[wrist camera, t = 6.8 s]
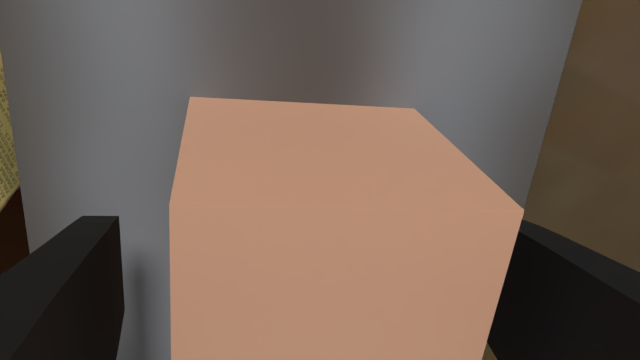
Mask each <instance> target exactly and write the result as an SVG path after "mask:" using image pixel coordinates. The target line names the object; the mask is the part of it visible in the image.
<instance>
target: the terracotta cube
mask: <svg viewBox="0 0 640 360" xmlns="http://www.w3.org/2000/svg"><path fill="white" fill-rule="evenodd" d="M523 213H524V209H523V208H521V207H520V206H519V205H518V204H517V203H516V202H515V201H514V200H513V199H512V198H511V197H510V196H508V195H507V194H506V193H505V192H504V191H503V190H502V189H501V188H500V187H499V186H498V185H497V184H495V183H494V182H493V181H492V180H491V179H490V178H489V177H488V176H487V175H486V174H485V173H484V172H482V171H481V170H480V169H479V168H478V167H477V166H476V165H475V164H474V163H473V162H472V161H471V160H469V159H468V158H467V157H466V156H465V155H464V154H463V153H462V152H461V151H460V150H459V149H458V148H456V147H455V146H454V145H453V144H452V143H451V142H450V141H449V140H448V139H447V138H446V137H445V136H443V135H442V134H441V133H440V132H439V131H438V130H437V129H436V128H435V127H434V126H433V125H432V124H431V123H429V122H428V121H427V120H426V119H425V118H424V117H423V116H422V115H421V114H420V113H419V112H418V111H416V110H415V109H412V108H394V107H375V106H356V105H337V104H318V103H300V102H281V101H262V100H243V99H224V98H206V97H190V99H189V104H188V109H187V114H186V119H185V125H184V130H183V135H182V140H181V146H180V151H179V156H178V161H177V166H176V172H175V177H174V182H173V187H172V192H171V198H170V203H169V232H170V311H171V360H482V356H483V353H484V349H485V346H486V342H487V339H488V335H489V332H490V328H491V325H492V321H493V318H494V314H495V311H496V307H497V304H498V300H499V297H500V294H501V290H502V287H503V283H504V280H505V276H506V273H507V269H508V266H509V262H510V259H511V255H512V252H513V248H514V245H515V241H516V238H517V234H518V231H519V227H520V224H521V220H522V217H523Z"/></svg>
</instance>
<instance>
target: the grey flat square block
mask: <svg viewBox="0 0 640 360" xmlns="http://www.w3.org/2000/svg"><path fill="white" fill-rule="evenodd" d="M581 3H582V0H0V50H1V57H2V64H3V71H4V78H5V85H6V92H7V99H8V106H9V113H10V120H11V127H12V134H13V141H14V148H15V154H16V161H17V168H18V175H19V182H20V189H21V196H22V203H23V210H24V217H25V224H26V231H27V238H28V245H29V252H30V254H31V253H32V252H33V251H35V250H36V249H38V248H39V247H40V246H42V245H43V244H44V243H46V242H47V241H48V240H50V239H51V238H52V237H54V236H55V235H56V234H58V233H59V232H60V231H62V230H63V229H64V228H66V227H67V226H68V225H70V224H71V223H73V222H74V221H75V220H77V219H78V218H80V217H82V216H119V224H120V240H121V256H122V272H123V288H124V304H125V312H124V318H123V324H122V330H121V336H120V341H119V347H118V352H117V358H116V360H171V311H170V232H169V203H170V198H171V192H172V187H173V182H174V177H175V172H176V166H177V161H178V156H179V151H180V146H181V140H182V135H183V130H184V125H185V119H186V114H187V109H188V104H189V99H190V97H206V98H224V99H243V100H262V101H281V102H300V103H318V104H337V105H356V106H375V107H394V108H412V109H415V110H416V111H418V112H419V113H420V114H421V115H422V116H423V117H424V118H425V119H426V120H427V121H428V122H429V123H431V124H432V125H433V126H434V127H435V128H436V129H437V130H438V131H439V132H440V133H441V134H442V135H443V136H445V137H446V138H447V139H448V140H449V141H450V142H451V143H452V144H453V145H454V146H455V147H456V148H458V149H459V150H460V151H461V152H462V153H463V154H464V155H465V156H466V157H467V158H468V159H469V160H471V161H472V162H473V163H474V164H475V165H476V166H477V167H478V168H479V169H480V170H481V171H482V172H484V173H485V174H486V175H487V176H488V177H489V178H490V179H491V180H492V181H493V182H494V183H495V184H497V185H498V186H499V187H500V188H501V189H502V190H503V191H504V192H505V193H506V194H507V195H508V196H510V197H511V198H512V199H513V200H514V201H515V202H516V203H517V204H518V205H519V206H520V207H521V208H523V209H524V206H525V203H526V199H527V196H528V192H529V189H530V185H531V181H532V178H533V174H534V171H535V167H536V164H537V160H538V156H539V153H540V149H541V146H542V142H543V139H544V135H545V131H546V128H547V124H548V121H549V117H550V114H551V110H552V106H553V103H554V99H555V96H556V92H557V89H558V85H559V81H560V78H561V74H562V71H563V67H564V64H565V60H566V56H567V53H568V49H569V46H570V42H571V39H572V35H573V31H574V28H575V24H576V21H577V17H578V14H579V10H580V6H581Z"/></svg>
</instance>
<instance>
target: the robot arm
mask: <svg viewBox="0 0 640 360" xmlns="http://www.w3.org/2000/svg"><path fill="white" fill-rule="evenodd" d="M124 312H125V304H124V288H123V272H122V256H121V240H120V224H119V216H82V217H80V218H78V219H77V220H75V221H74V222H73V223H71V224H70V225H68V226H67V227H66V228H64V229H63V230H62V231H60V232H59V233H58V234H56V235H55V236H54V237H52V238H51V239H50V240H48V241H47V242H46V243H44V244H43V245H42V246H40V247H39V248H38V249H36V250H35V251H33V252H32V253H31V254H29V255H28V256H27V257H25V258H24V259H22V260H21V261H20V262H18V263H17V264H16V265H14V266H13V267H11V268H10V269H9V270H7V271H6V272H4V273H3V274H1V275H0V360H116V358H117V352H118V347H119V341H120V336H121V330H122V324H123V318H124ZM487 342H488V344H489V346H490V348H491V349H492V351H493V353H494V355H495V356H496V358H497V360H640V272H638V271H636V270H633V269H631V268H629V267H627V266H625V265H623V264H620V263H618V262H616V261H614V260H612V259H610V258H608V257H606V256H603V255H601V254H599V253H597V252H595V251H593V250H591V249H589V248H587V247H585V246H582V245H580V244H578V243H576V242H574V241H572V240H570V239H568V238H565V237H563V236H561V235H559V234H557V233H555V232H552V231H550V230H548V229H545V228H543V227H541V226H538V225H536V224H533V223H531V222H528V221H525V220H521V224H520V227H519V231H518V234H517V238H516V241H515V245H514V248H513V252H512V255H511V259H510V262H509V266H508V269H507V273H506V276H505V280H504V283H503V287H502V290H501V294H500V297H499V300H498V304H497V307H496V311H495V314H494V318H493V321H492V325H491V328H490V332H489V335H488V339H487Z"/></svg>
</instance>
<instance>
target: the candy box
mask: <svg viewBox="0 0 640 360" xmlns="http://www.w3.org/2000/svg"><path fill="white" fill-rule="evenodd" d="M19 188H20V182H19V175H18V168H17V161H16V154H15V148H14V141H13V134H12V127H11V120H10V113H9V106H8V99H7V92H6V85H5V78H4V71H3V64H2V57H1V50H0V212H1V210H2V209H3V208H4V207H5V206H6V204H7V203H8V202H9V200H10V199H11V198H12V197H13V196H14V195H15V194H16V192H17V191H18V190H19Z"/></svg>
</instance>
